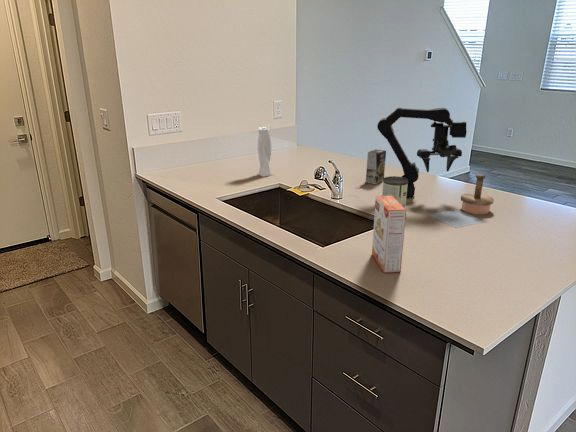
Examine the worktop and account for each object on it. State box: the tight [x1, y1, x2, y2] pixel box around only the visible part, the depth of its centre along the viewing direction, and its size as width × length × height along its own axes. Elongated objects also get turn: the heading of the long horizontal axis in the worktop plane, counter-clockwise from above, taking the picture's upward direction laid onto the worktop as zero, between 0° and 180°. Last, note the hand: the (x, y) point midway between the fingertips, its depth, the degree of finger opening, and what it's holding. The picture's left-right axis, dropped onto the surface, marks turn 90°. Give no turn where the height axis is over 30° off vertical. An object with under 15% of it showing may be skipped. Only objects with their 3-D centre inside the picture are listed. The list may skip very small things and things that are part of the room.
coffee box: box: [365, 149, 387, 185], centre depth 233 cm, size 9×6×16 cm
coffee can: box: [381, 175, 408, 209], centre depth 190 cm, size 10×10×14 cm
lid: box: [460, 173, 495, 206], centre depth 190 cm, size 13×13×11 cm
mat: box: [428, 209, 487, 229], centre depth 184 cm, size 16×16×1 cm
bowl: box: [461, 201, 491, 215], centre depth 193 cm, size 11×11×4 cm
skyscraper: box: [256, 124, 274, 178], centre depth 242 cm, size 8×8×28 cm
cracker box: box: [371, 195, 407, 274], centre depth 142 cm, size 14×6×21 cm, turn 5°
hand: (437, 171), depth 204 cm, fingers open, 9 cm apart
